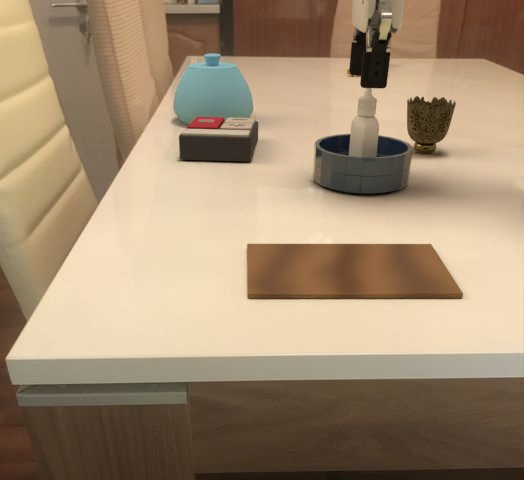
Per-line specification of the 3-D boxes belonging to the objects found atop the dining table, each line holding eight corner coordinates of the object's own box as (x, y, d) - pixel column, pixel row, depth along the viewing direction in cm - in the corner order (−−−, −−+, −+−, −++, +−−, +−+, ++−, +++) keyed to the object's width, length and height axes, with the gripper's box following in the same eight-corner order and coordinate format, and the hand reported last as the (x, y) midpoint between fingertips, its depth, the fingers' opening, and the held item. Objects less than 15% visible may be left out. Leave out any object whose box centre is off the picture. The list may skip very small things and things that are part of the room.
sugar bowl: (255, 129, 116) (256, 59, 110) (172, 129, 115) (168, 59, 109) (251, 112, 129) (251, 48, 123) (176, 112, 128) (172, 48, 122)
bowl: (397, 168, 96) (401, 133, 93) (417, 196, 85) (422, 158, 82) (309, 167, 96) (310, 133, 93) (317, 196, 84) (320, 158, 82)
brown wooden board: (430, 248, 70) (431, 243, 70) (462, 298, 60) (463, 293, 59) (247, 247, 69) (247, 243, 69) (247, 298, 59) (247, 293, 59)
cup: (446, 147, 107) (454, 96, 103) (449, 159, 101) (458, 105, 96) (400, 145, 108) (407, 94, 104) (401, 156, 102) (407, 103, 97)
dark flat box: (258, 116, 108) (251, 132, 95) (258, 142, 110) (251, 161, 97) (194, 114, 109) (177, 130, 96) (195, 140, 111) (179, 159, 98)
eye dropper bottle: (379, 174, 92) (389, 85, 85) (371, 186, 87) (380, 92, 81) (349, 171, 93) (357, 82, 87) (339, 182, 88) (347, 89, 82)
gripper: (434, -79, 67) (409, 94, 76) (399, -74, 82) (382, 71, 91) (362, -82, 67) (347, 92, 76) (341, -76, 82) (330, 69, 91)
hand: (366, 80), depth 83 cm, fingers open, 9 cm apart
